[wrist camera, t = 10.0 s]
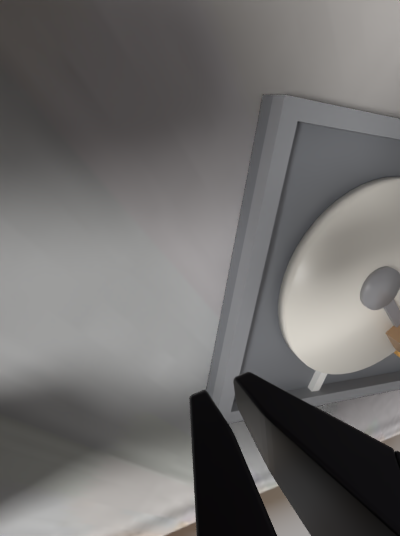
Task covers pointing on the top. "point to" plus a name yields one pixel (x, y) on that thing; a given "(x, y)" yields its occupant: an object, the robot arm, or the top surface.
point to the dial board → (294, 242)
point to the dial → (346, 283)
